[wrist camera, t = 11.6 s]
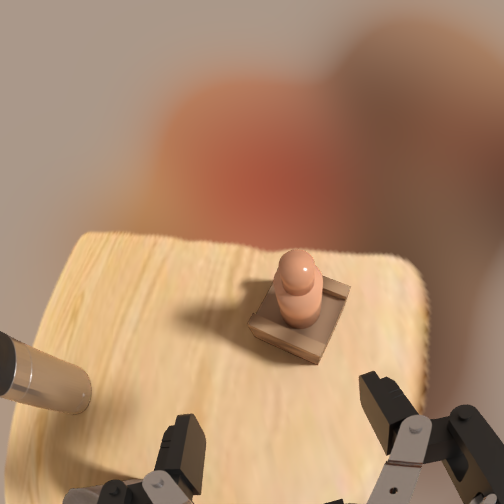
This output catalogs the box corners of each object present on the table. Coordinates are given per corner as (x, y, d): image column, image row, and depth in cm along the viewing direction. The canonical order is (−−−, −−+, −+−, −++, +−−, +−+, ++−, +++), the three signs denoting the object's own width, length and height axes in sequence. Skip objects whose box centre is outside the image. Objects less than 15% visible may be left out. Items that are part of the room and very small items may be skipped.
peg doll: (273, 319, 38) (259, 277, 28) (291, 286, 40) (283, 235, 30) (310, 335, 36) (310, 298, 26) (326, 300, 38) (332, 252, 28)
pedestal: (254, 336, 42) (247, 323, 37) (285, 280, 46) (282, 260, 41) (317, 365, 38) (320, 356, 33) (345, 303, 42) (350, 286, 37)
